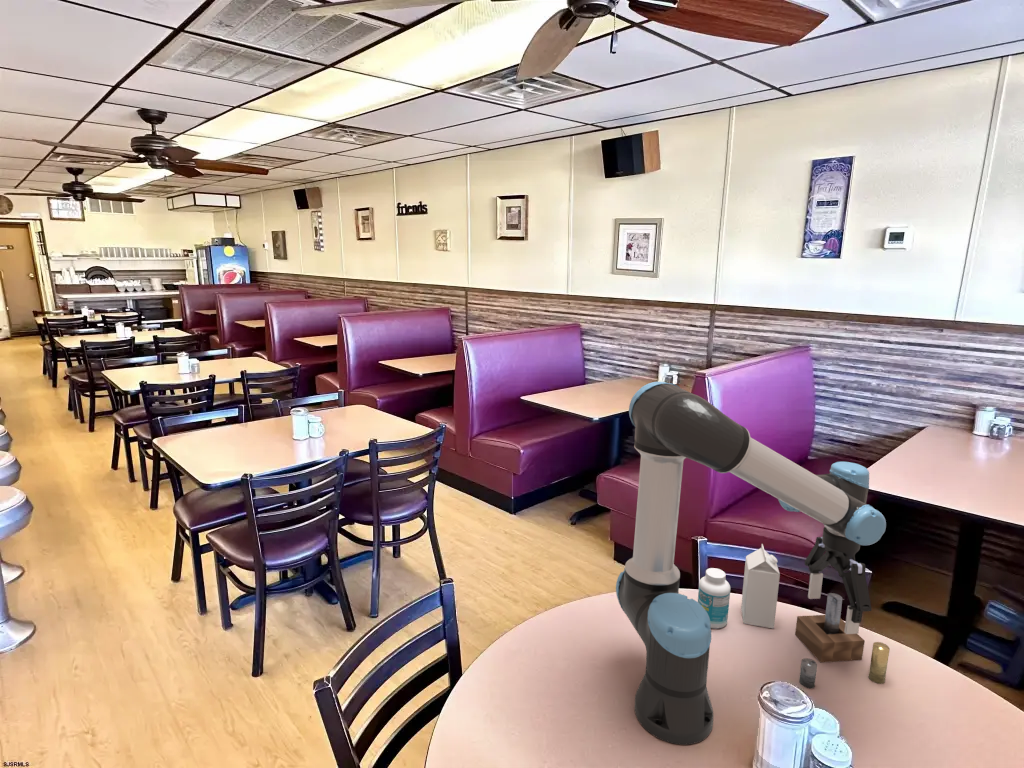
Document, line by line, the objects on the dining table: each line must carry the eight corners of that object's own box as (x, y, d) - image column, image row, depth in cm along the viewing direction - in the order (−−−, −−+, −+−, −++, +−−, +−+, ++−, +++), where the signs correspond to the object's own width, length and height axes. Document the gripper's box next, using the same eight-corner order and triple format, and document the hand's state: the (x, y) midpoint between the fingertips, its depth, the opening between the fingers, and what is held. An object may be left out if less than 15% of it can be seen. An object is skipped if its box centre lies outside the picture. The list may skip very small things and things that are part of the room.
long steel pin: (827, 651, 132) (832, 600, 130) (819, 643, 135) (824, 593, 133) (839, 650, 132) (845, 599, 130) (831, 642, 135) (837, 592, 133)
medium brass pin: (874, 684, 122) (879, 651, 120) (865, 674, 125) (869, 642, 123) (888, 683, 122) (893, 650, 120) (878, 673, 125) (882, 641, 123)
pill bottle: (691, 612, 147) (695, 565, 144) (719, 611, 147) (723, 564, 145) (703, 630, 140) (707, 581, 137) (732, 629, 140) (736, 580, 137)
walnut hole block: (820, 662, 128) (822, 642, 127) (795, 634, 138) (797, 616, 137) (861, 660, 129) (864, 640, 128) (833, 632, 139) (836, 614, 138)
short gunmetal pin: (804, 688, 120) (806, 668, 119) (796, 678, 123) (798, 658, 122) (817, 688, 121) (820, 667, 120) (809, 678, 124) (811, 657, 123)
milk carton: (743, 624, 142) (750, 554, 138) (740, 608, 149) (747, 541, 145) (774, 629, 140) (781, 559, 136) (770, 613, 147) (777, 545, 143)
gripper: (899, 557, 116) (885, 648, 120) (823, 506, 140) (814, 584, 144) (865, 558, 115) (852, 650, 119) (795, 507, 140) (786, 585, 144)
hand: (831, 614), depth 132 cm, fingers open, 13 cm apart
